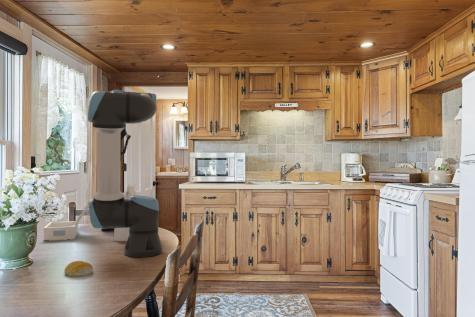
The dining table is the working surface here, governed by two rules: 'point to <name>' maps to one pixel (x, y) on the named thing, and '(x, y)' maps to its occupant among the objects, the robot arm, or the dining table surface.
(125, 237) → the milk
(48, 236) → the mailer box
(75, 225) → the lid
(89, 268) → the bread roll
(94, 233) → the dining table surface
